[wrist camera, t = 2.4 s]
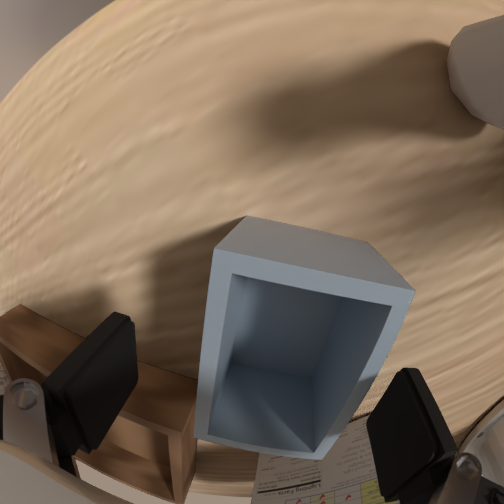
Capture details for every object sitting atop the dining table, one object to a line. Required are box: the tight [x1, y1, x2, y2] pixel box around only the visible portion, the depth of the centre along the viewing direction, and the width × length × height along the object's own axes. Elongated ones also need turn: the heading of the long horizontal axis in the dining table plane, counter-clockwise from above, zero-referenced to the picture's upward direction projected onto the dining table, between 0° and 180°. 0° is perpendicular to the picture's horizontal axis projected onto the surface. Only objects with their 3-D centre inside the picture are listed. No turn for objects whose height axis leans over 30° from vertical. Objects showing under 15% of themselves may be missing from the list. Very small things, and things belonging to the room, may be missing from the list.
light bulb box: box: [251, 415, 400, 504], centre depth 12 cm, size 11×7×11 cm, turn 122°
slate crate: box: [194, 216, 415, 460], centre depth 12 cm, size 6×9×6 cm, turn 170°
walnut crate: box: [0, 304, 198, 504], centre depth 17 cm, size 18×15×4 cm
